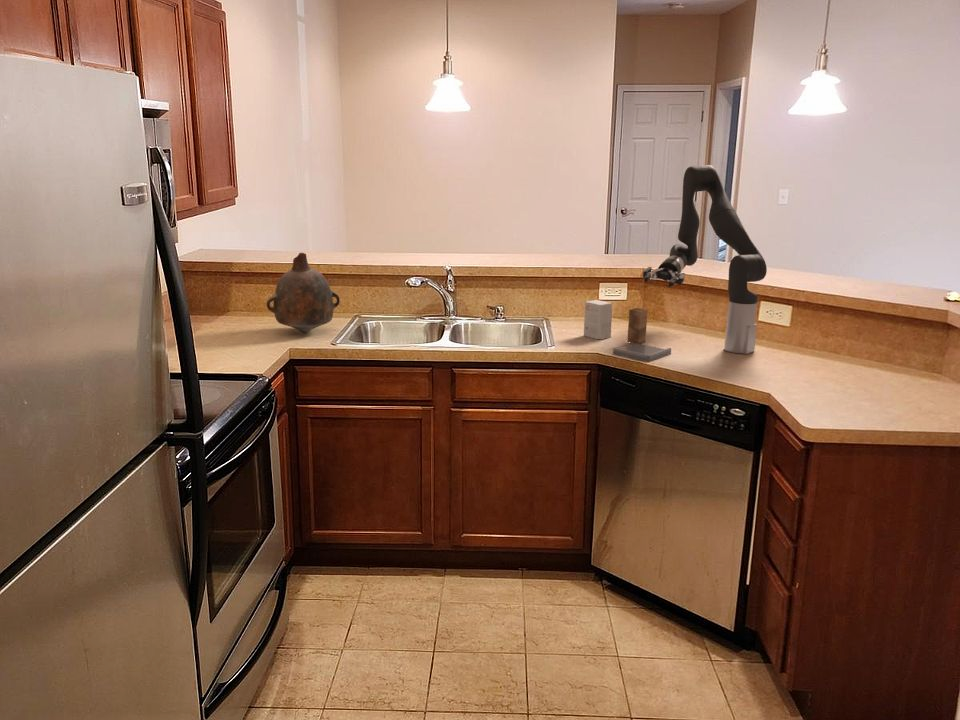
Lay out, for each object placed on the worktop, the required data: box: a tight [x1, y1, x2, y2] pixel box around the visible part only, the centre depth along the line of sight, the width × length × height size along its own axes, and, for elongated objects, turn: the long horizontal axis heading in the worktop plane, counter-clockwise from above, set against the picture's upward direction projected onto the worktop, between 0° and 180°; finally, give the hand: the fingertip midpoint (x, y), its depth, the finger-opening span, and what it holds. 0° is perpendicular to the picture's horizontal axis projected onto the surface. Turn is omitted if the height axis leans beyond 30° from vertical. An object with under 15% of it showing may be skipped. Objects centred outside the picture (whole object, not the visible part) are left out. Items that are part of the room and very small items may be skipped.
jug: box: [266, 252, 341, 333], centre depth 288 cm, size 24×21×30 cm
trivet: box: [612, 343, 672, 362], centre depth 267 cm, size 14×14×2 cm
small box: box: [583, 299, 613, 340], centre depth 289 cm, size 8×6×13 cm
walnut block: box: [626, 307, 648, 344], centre depth 281 cm, size 5×5×12 cm
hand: (658, 282), depth 279 cm, fingers open, 8 cm apart
